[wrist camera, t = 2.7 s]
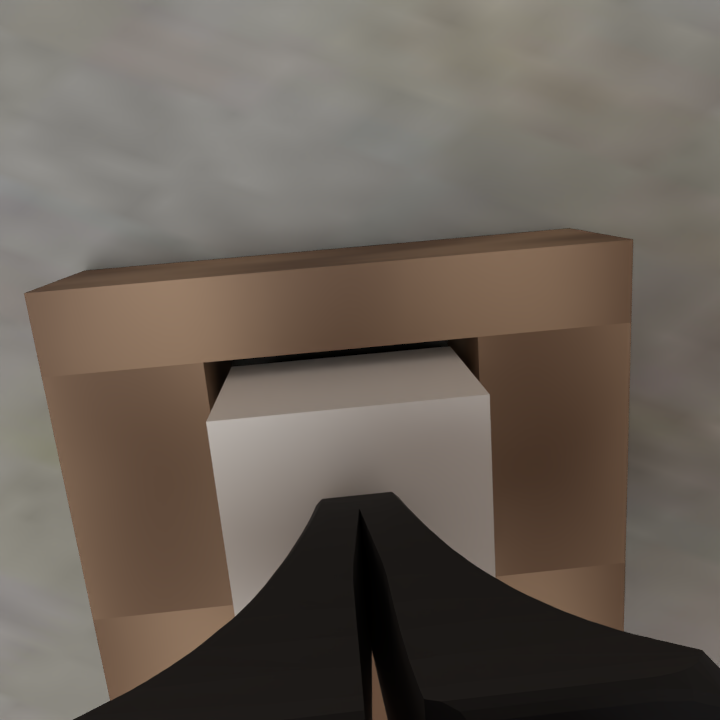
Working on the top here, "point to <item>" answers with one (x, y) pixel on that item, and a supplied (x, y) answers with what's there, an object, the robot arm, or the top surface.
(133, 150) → the top surface
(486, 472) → the white block
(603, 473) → the brown block tray
